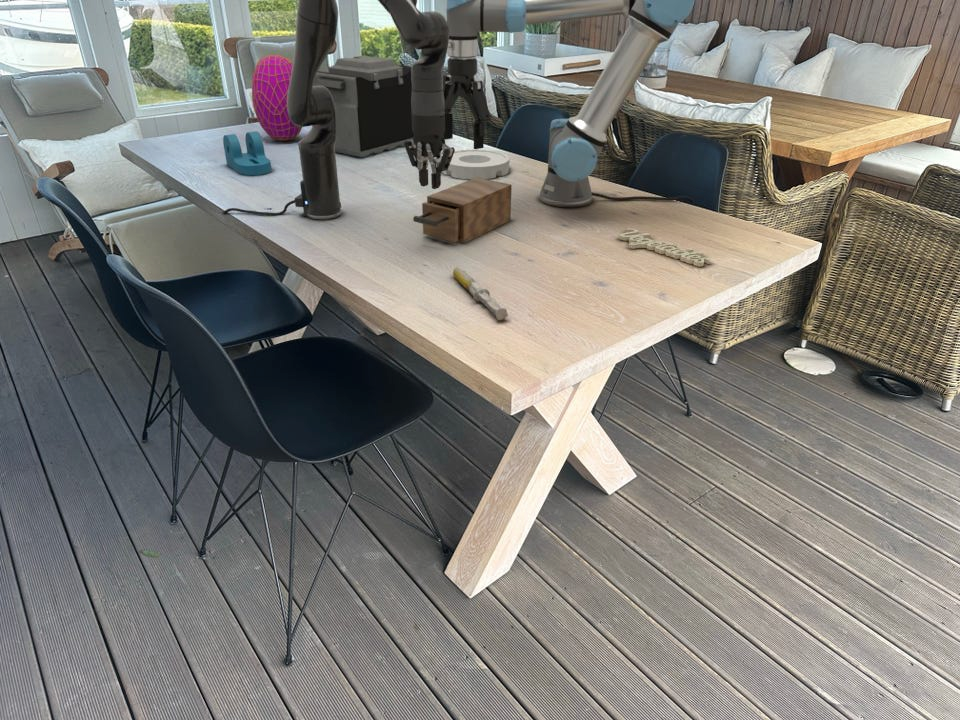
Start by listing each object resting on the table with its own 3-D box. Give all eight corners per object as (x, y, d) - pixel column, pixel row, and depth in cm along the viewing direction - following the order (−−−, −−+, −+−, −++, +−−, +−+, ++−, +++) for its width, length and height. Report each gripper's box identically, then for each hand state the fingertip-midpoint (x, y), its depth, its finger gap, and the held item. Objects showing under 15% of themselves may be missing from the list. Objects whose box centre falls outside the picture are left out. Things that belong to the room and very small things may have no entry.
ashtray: (443, 160, 241) (442, 148, 239) (509, 161, 240) (509, 149, 238) (437, 178, 221) (437, 166, 219) (509, 180, 220) (509, 167, 218)
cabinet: (463, 243, 172) (463, 204, 167) (428, 234, 178) (426, 196, 172) (510, 220, 187) (511, 184, 182) (476, 212, 193) (476, 177, 188)
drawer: (440, 249, 166) (440, 217, 162) (408, 240, 171) (406, 209, 167) (500, 220, 184) (501, 191, 180) (469, 213, 189) (469, 184, 185)
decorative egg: (293, 132, 276) (283, 50, 261) (319, 140, 264) (310, 56, 249) (249, 139, 265) (236, 54, 250) (273, 148, 253) (261, 60, 238)
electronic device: (383, 133, 276) (378, 52, 261) (425, 141, 265) (422, 56, 250) (314, 150, 251) (304, 61, 235) (358, 160, 240) (350, 67, 224)
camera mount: (227, 164, 233) (221, 132, 227) (257, 160, 238) (252, 129, 233) (244, 176, 220) (239, 143, 215) (276, 172, 225) (271, 139, 220)
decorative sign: (605, 235, 174) (629, 227, 180) (604, 239, 175) (629, 230, 181) (694, 266, 158) (718, 256, 163) (693, 270, 158) (717, 260, 164)
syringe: (449, 274, 155) (449, 263, 153) (465, 272, 156) (464, 260, 154) (490, 323, 135) (491, 310, 133) (508, 319, 136) (508, 307, 134)
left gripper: (393, 109, 155) (397, 185, 164) (442, 117, 148) (443, 196, 157) (414, 105, 160) (417, 178, 169) (463, 112, 154) (463, 188, 162)
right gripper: (422, 53, 179) (425, 136, 190) (481, 64, 163) (480, 154, 173) (445, 51, 183) (446, 133, 194) (505, 61, 167) (503, 150, 177)
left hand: (430, 186), depth 163 cm, fingers open, 3 cm apart
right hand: (462, 143), depth 184 cm, fingers open, 13 cm apart
